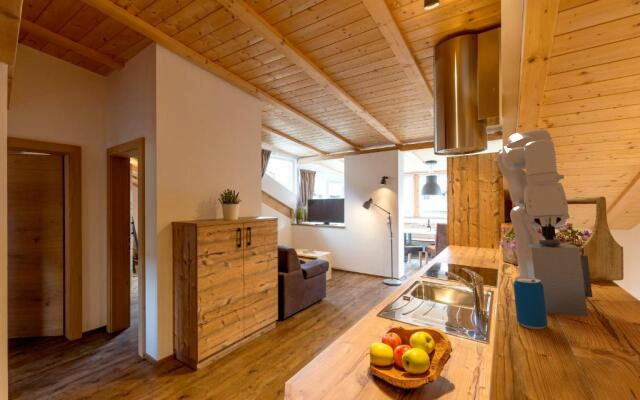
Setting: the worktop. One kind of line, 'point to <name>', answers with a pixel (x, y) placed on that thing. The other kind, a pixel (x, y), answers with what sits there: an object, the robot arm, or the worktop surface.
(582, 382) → the worktop surface
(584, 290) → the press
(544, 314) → the beverage can
